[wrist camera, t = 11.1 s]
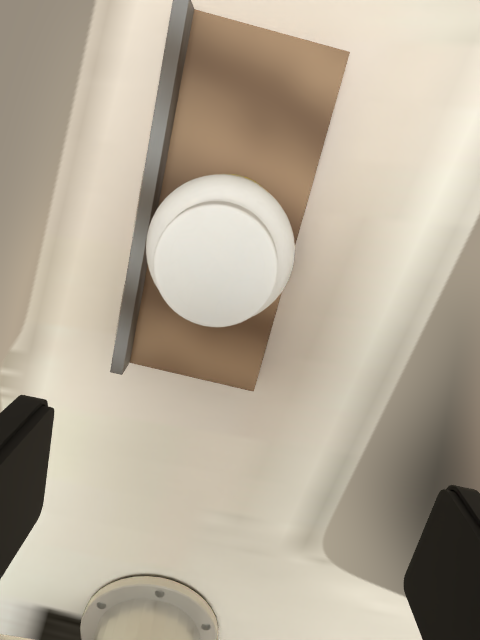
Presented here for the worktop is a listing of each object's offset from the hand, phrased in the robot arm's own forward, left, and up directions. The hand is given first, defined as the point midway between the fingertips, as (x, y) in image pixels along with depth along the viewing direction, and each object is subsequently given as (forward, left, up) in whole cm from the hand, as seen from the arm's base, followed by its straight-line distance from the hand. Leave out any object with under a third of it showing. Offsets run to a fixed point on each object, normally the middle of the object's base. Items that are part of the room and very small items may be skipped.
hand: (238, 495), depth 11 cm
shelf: (+3, +3, -23) cm, 23 cm away
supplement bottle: (+3, +2, -21) cm, 21 cm away
